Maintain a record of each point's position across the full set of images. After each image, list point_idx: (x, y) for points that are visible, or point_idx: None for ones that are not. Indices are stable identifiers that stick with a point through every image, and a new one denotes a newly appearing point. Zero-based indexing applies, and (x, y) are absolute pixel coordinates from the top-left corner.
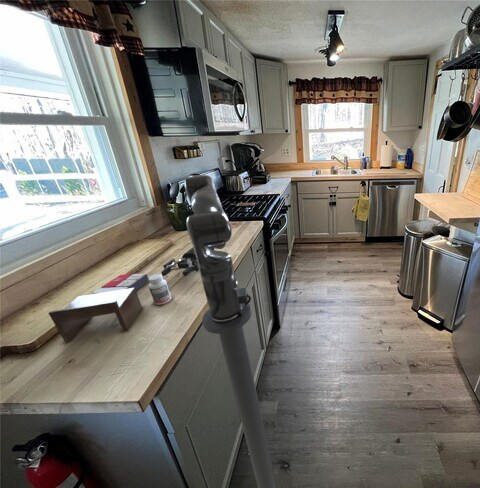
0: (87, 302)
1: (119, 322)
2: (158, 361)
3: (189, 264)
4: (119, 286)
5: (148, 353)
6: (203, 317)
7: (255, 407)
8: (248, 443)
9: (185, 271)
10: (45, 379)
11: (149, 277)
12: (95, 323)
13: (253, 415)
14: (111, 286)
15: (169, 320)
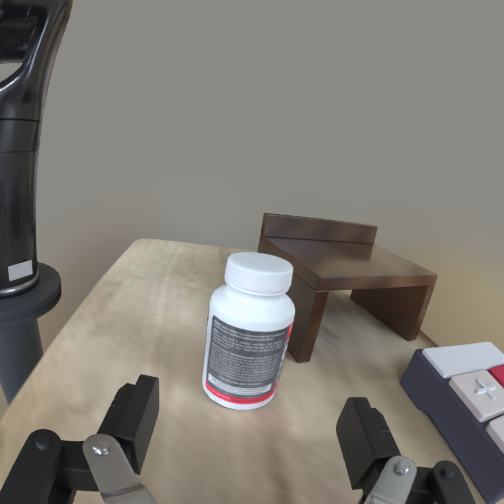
0: (377, 258)
1: None
2: (132, 254)
3: (132, 488)
4: (474, 372)
5: (157, 264)
6: (56, 285)
7: None
8: None
9: (136, 388)
10: None
11: (288, 262)
12: (364, 325)
13: None
14: (494, 367)
15: (151, 308)
